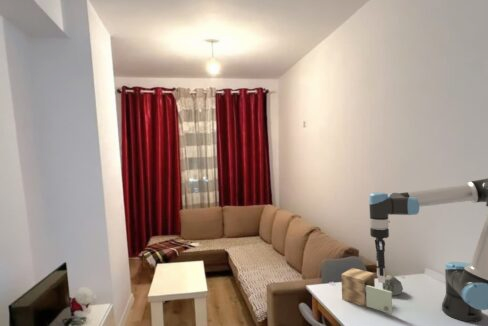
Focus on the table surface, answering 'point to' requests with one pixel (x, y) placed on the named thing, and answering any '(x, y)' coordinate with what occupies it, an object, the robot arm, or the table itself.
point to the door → (378, 299)
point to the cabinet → (356, 285)
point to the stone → (392, 285)
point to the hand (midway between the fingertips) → (380, 279)
